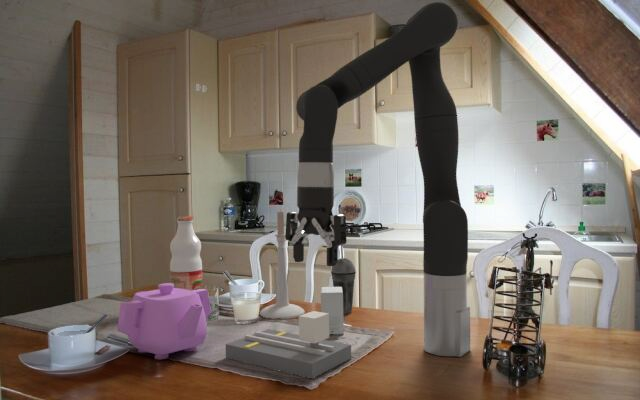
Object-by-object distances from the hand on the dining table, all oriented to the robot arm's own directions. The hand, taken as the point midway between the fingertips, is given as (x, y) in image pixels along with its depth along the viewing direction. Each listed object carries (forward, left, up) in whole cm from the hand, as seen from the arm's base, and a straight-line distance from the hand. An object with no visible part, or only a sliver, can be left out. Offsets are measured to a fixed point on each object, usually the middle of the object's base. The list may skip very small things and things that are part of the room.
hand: (314, 263), depth 109 cm
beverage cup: (+19, -40, -21) cm, 49 cm away
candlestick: (+33, -29, -21) cm, 48 cm away
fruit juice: (+61, -18, -21) cm, 67 cm away
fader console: (+7, +1, -21) cm, 22 cm away
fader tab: (0, +1, -17) cm, 17 cm away
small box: (+11, -22, -21) cm, 32 cm away
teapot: (+34, +11, -21) cm, 41 cm away
